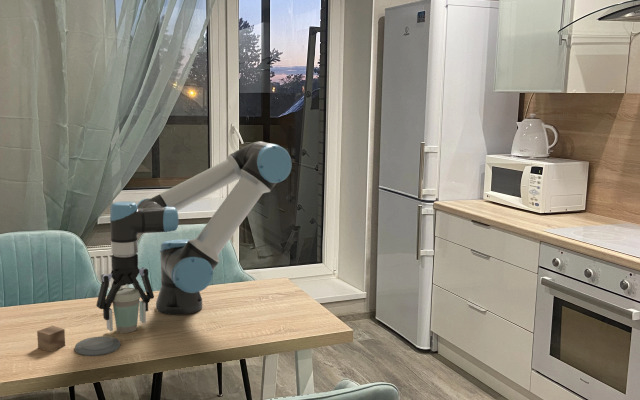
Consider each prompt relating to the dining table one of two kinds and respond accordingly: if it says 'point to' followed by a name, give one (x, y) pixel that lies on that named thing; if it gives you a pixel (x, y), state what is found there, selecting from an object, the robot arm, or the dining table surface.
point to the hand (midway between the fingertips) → (126, 325)
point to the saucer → (97, 346)
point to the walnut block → (51, 338)
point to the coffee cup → (126, 309)
